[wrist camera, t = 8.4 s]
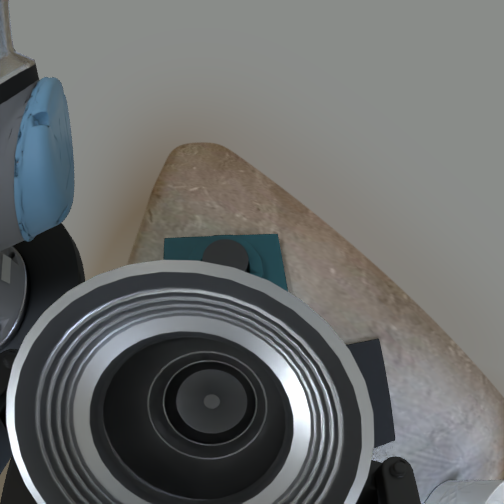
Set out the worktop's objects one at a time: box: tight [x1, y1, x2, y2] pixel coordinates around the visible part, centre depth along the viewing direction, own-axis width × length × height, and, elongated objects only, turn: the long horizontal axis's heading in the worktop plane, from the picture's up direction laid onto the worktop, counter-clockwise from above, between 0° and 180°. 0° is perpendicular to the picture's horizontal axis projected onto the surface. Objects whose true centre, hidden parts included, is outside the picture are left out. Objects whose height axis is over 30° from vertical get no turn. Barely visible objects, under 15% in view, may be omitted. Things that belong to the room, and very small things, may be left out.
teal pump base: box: [164, 234, 288, 292], centre depth 28 cm, size 12×9×4 cm
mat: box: [346, 339, 395, 448], centre depth 24 cm, size 12×12×1 cm
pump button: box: [202, 239, 249, 272], centre depth 26 cm, size 4×4×2 cm
